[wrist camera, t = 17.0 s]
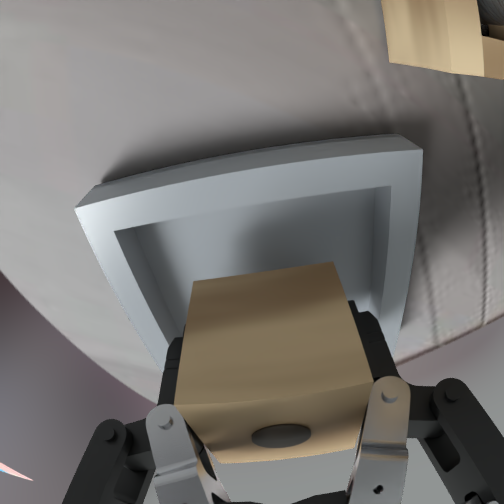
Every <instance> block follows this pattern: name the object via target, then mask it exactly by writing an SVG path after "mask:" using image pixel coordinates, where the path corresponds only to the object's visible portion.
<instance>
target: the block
mask: <svg viewBox="0 0 504 504" xmlns="http://www.w3.org/2000/svg"><path fill="white" fill-rule="evenodd" d="M373 382H374V381H373V378H372V374H371V371H370V368H369V365H368V361H367V358H366V355H365V352H364V349H363V346H362V342H361V339H360V336H359V333H358V330H357V327H356V324H355V321H354V318H353V315H352V313H351V310H350V307H349V304H348V301H347V298H346V295H345V293H344V290H343V287H342V284H341V281H340V279H339V276H338V273H337V270H336V268H335V265H334V262H333V261H331V262H325V263H318V264H312V265H305V266H298V267H291V268H284V269H278V270H271V271H264V272H257V273H250V274H242V275H235V276H228V277H221V278H213V279H206V280H198V281H193V286H192V291H191V297H190V303H189V308H188V314H187V320H186V326H185V332H184V339H183V345H182V351H181V358H180V364H179V371H178V378H177V385H176V392H175V400H174V406H175V407H176V409H177V410H178V411H179V413H180V414H181V415H182V417H183V418H184V419H185V420H186V422H187V423H188V424H189V426H190V427H191V428H192V430H193V431H194V432H195V433H196V435H197V436H198V437H199V438H200V440H201V441H202V442H203V443H204V444H205V446H206V447H207V448H208V449H209V450H210V452H211V453H212V454H213V455H214V456H215V458H216V459H217V460H218V461H219V462H220V463H241V462H257V461H270V460H280V459H289V458H296V457H297V458H298V457H305V456H312V455H318V454H325V453H330V452H336V451H341V450H346V449H351V448H354V446H355V443H356V440H357V437H358V434H359V431H360V428H361V424H362V421H363V418H364V415H365V411H366V408H367V404H368V401H369V397H370V393H371V390H372V386H373Z"/></svg>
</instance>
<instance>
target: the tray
mask: <svg viewBox="0 0 504 504" xmlns="http://www.w3.org/2000/svg"><path fill="white" fill-rule="evenodd" d="M422 164H423V149H422V148H420V147H419V146H417V145H416V144H414V143H412V142H411V141H409V140H408V139H406V138H405V137H403V136H401V135H400V134H384V135H370V136H358V137H347V138H338V139H328V140H320V141H311V142H303V143H296V144H289V145H282V146H275V147H268V148H262V149H256V150H250V151H244V152H238V153H233V154H227V155H222V156H217V157H212V158H207V159H202V160H197V161H192V162H187V163H183V164H178V165H174V166H169V167H165V168H161V169H156V170H152V171H148V172H144V173H140V174H136V175H132V176H128V177H125V178H121V179H117V180H113V181H110V182H106V183H103V184H99V185H96V186H94V187H93V188H92V189H91V191H90V192H89V193H88V194H87V195H86V196H85V197H84V198H83V199H82V200H81V201H80V203H79V204H78V205H77V206H76V207H75V208H74V209H75V212H76V214H77V216H78V219H79V221H80V223H81V225H82V228H83V230H84V232H85V234H86V237H87V239H88V241H89V243H90V245H91V247H92V249H93V251H94V254H95V256H96V258H97V260H98V262H99V264H100V266H101V268H102V270H103V272H104V274H105V276H106V278H107V279H108V281H109V283H110V285H111V287H112V289H113V291H114V293H115V295H116V296H117V298H118V300H119V302H120V304H121V306H122V307H123V309H124V311H125V313H126V314H127V316H128V318H129V320H130V321H131V323H132V325H133V327H134V328H135V330H136V332H137V333H138V335H139V337H140V338H141V340H142V342H143V343H144V345H145V347H146V348H147V350H148V351H149V353H150V355H151V356H152V358H153V359H154V361H155V362H156V364H157V366H158V367H159V369H160V370H161V372H162V373H163V371H164V366H165V361H166V355H167V350H168V347H169V345H170V344H171V342H172V341H173V339H174V338H175V337H183V331H184V326H185V324H186V320H187V314H188V308H189V303H190V297H191V291H192V286H193V281H198V280H206V279H213V278H221V277H228V276H235V275H242V274H250V273H257V272H264V271H271V270H278V269H284V268H291V267H298V266H305V265H312V264H318V263H325V262H331V261H333V262H334V265H335V268H336V270H337V273H338V276H339V279H340V281H341V284H342V287H343V290H344V293H345V295H346V298H347V301H348V300H354V301H355V304H356V306H357V309H358V312H364V311H369V312H370V313H372V314H373V315H374V316H375V317H376V318H377V319H378V322H379V324H380V327H381V329H382V332H383V334H384V337H385V341H386V342H387V345H388V347H389V350H390V353H391V355H392V358H393V355H394V351H395V347H396V343H397V339H398V335H399V331H400V326H401V322H402V317H403V313H404V308H405V303H406V298H407V293H408V288H409V282H410V276H411V270H412V264H413V257H414V251H415V243H416V235H417V227H418V218H419V208H420V196H421V182H422Z"/></svg>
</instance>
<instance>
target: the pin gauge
mask: <svg viewBox="0 0 504 504" xmlns="http://www.w3.org/2000/svg"><path fill="white" fill-rule="evenodd" d="M477 5H478V11H479V18H480V25H500V26H504V0H477Z"/></svg>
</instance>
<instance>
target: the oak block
mask: <svg viewBox="0 0 504 504" xmlns="http://www.w3.org/2000/svg"><path fill="white" fill-rule="evenodd" d="M381 4H382V10H383V16H384V23H385V30H386V37H387V45H388V54H389V62H390V63H397V64H404V65H411V66H417V67H423V68H429V69H434V70H439V71H444V72H449V73H456V74H465V75H474V76H482V77H489V78H495V79H501V80H504V26H500V25H488V27H489V36H490V37H485V36H482V35H481V26H480V18H479V11H478V5H477V0H381Z"/></svg>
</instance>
